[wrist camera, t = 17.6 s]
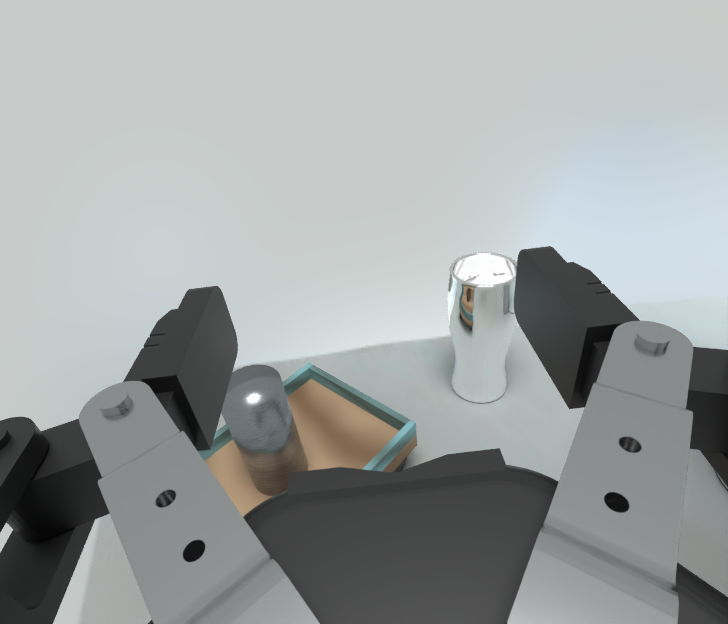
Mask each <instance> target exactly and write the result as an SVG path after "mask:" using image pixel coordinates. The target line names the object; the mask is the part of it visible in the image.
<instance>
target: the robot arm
mask: <svg viewBox="0 0 728 624" xmlns="http://www.w3.org/2000/svg"><path fill="white" fill-rule="evenodd" d="M514 312H515V316H516V319H517V322H518V324H519V325H520V327H521V329H522V330H523V332H524V334H525V335H526V337H527V339H528V340H529V342H530V344H531V345H532V347H533V349H534V350H535V352H536V354H537V356H538V357H539V359H540V361H541V362H542V364H543V366H544V367H545V369H546V371H547V372H548V374H549V376H550V377H551V379H552V381H553V382H554V384H555V386H556V387H557V389H558V391H559V392H560V394H561V396H562V398H563V399H564V401H565V403H566V404H567V406H568V408H569V409H573V408H582V407H585V409H584V412H583V414H582V417H581V420H580V423H579V426H578V429H577V432H576V434H575V437H574V440H573V443H572V446H571V449H570V451H569V454H568V457H567V460H566V463H565V466H564V468H563V471H562V474H561V477H560V480H559V482H558V481H556V480H554V479H552V478H550V477H548V476H545V475H543V474H541V473H538V472H535V471H532V470H529V469H525V468H521V467H516V466H511V465H506V464H505V462H504V459H503V456H502V454H501V451H500V448H499V449H490V450H481V451H473V452H464V453H456V454H447V455H445V456H442V457H439V458H436V459H433V460H431V461H428V462H425V463H422V464H420V465H417V466H414V467H411V468H408V469H406V470H403V471H400V472H394V473H393V472H382V471H373V470H364V469H355V468H346V467H335V468H327V469H318V470H310V471H301V472H292V473H289V480H288V490H286V491H284V492H281V493H279V494H277V495H275V496H273V497H271V498H269V499H267V500H265V501H264V502H262V503H260V504H259V505H257V506H256V507H254V508H253V509H252V510H250V511H249V512H248V513H247V514H245V515H244V516H242V515H241V514H240V512H239V511H238V509H237V508H236V506H235V505H234V503H233V502H232V501H231V499H230V498H229V496H228V495H227V493H226V492H225V490H224V489H223V487H222V486H221V485H220V483H219V482H218V480H217V479H216V477H215V476H214V474H213V473H212V471H211V470H210V469H209V467H208V466H207V464H206V463H205V461H204V460H203V458H202V457H201V455H200V454H199V453H198V451H203V450H211V447H212V443H213V439H214V436H215V432H216V429H217V425H218V421H219V418H220V414H221V411H222V407H223V403H224V400H225V396H226V393H227V389H228V385H229V382H230V378H231V375H232V371H233V367H234V364H235V360H236V357H237V351H238V347H237V346H238V344H237V336H236V332H235V329H234V326H233V323H232V321H231V317H230V314H229V311H228V308H227V305H226V302H225V300H224V296H223V293H222V291H221V289H220V288H219V287H218V286H212V287H204V288H196V289H189V290H188V291H187V292H186V294H185V296H184V298H183V300H182V302H181V304H180V306H179V308H178V309H174V310H170V311H169V312H168V313H167V314H166V315H165V316H163V317H162V318H161V319H160V320H159V321H158V322H157V323H156V325H155V327H154V328H153V330H152V332H151V334H150V338H148V339H147V341H146V343H145V344H144V348H143V349H142V350H141V351H140V353H139V355H138V357H137V358H136V360H135V362H134V364H133V366H132V368H131V369H130V371H129V373H128V374H127V376H126V378H125V380H124V381H123V382H122V383H118V384H116V385H113V386H110V387H108V388H106V389H104V390H102V391H101V392H99V393H98V394H97V395H95V396H94V397H92V398H91V399H90V400H89V401H88V402H87V403H86V404H85V406H84V407H83V409H82V410H81V412H80V415H79V419H77V420H74V421H71V422H68V423H65V424H62V425H59V426H56V427H53V428H50V429H47V430H44V431H40V430H39V429H38V427H37V426H36V425H35V423H34V422H33V421H32V420H31V419H29V418H26V417H13V418H8V419H5V420H2V421H0V532H1V530H2V529H3V527H4V525H5V523H6V522H7V523H8V524H9V525H10V526H11V527H12V528H13V531H12V533H11V535H10V537H9V538H8V540H7V542H6V544H5V545H4V547H3V549H2V551H1V553H0V624H53V621H54V619H55V617H56V614H57V612H58V609H59V607H60V604H61V602H62V599H63V597H64V594H65V592H66V590H67V587H68V585H69V582H70V580H71V577H72V575H73V572H74V570H75V567H76V565H77V562H78V560H79V558H80V555H81V552H82V550H83V548H84V545H85V543H86V540H87V538H88V535H89V533H90V531H91V528H92V526H93V523H94V520H95V519H97V518H99V517H102V516H104V515H107V514H109V513H110V515H111V518H112V520H113V523H114V525H115V528H116V530H117V533H118V535H119V538H120V540H121V543H122V545H123V548H124V550H125V553H126V555H127V558H128V560H129V563H130V565H131V568H132V570H133V573H134V575H135V578H136V580H137V583H138V585H139V588H140V590H141V593H142V596H143V598H144V601H145V603H146V606H147V608H148V611H149V613H150V616H151V618H152V620H151V621H150V622H149V623H148V624H728V597H727V596H725V595H724V594H722V593H721V592H719V591H718V590H716V589H715V588H714V587H712V586H711V585H709V584H708V583H706V582H705V581H703V580H702V579H701V578H699V577H698V576H696V575H695V574H693V573H692V572H690V571H689V570H688V569H686V568H685V567H683V566H682V565H680V564H679V563H677V560H678V550H679V541H680V532H681V523H682V514H683V505H684V495H685V486H686V477H687V468H688V459H689V450H690V449H697V450H700V451H701V452H702V454H703V455H704V456H705V458H706V459H707V460H708V462H709V463H710V464H711V466H712V467H713V468H714V469H715V471H716V473H717V475H718V477H719V478H720V480H721V481H722V483H723V484H724V485H725V487H726V488H727V489H728V350H722V349H710V348H699V347H693V346H692V343H691V342H690V340H689V339H688V338H687V337H686V336H685V335H683V334H682V333H681V332H679V331H677V330H675V329H673V328H671V327H669V326H666V325H663V324H659V323H655V322H649V321H640V320H639V319H638V318H637V317H636V316H635V315H634V314H633V313H632V312H631V311H630V310H629V309H628V308H627V307H626V306H625V305H624V304H623V303H622V302H621V301H620V300H619V299H618V298H617V297H616V296H615V295H614V294H613V293H611V292H610V290H609V289H608V288H607V287H606V286H605V285H604V284H602V283H601V281H600V280H599V279H598V278H597V277H596V276H595V275H594V274H593V273H592V272H591V271H590V270H588V269H586V268H584V267H582V266H580V265H578V264H576V263H574V262H570V263H567V262H566V261H565V260H564V259H563V258H562V257H561V256H560V255H559V254H558V253H557V251H556V250H555V249H554V248H553V247H551V246H549V247H540V248H533V249H524V250H521V251H520V253H519V255H518V261H517V271H516V281H515V291H514Z"/></svg>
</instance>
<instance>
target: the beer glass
mask: <svg viewBox="0 0 728 624" xmlns="http://www.w3.org/2000/svg"><path fill="white" fill-rule="evenodd" d="M516 271H517V262H516V261H515V260H513V259H512V258H509V257H507V256H504V255H501V254H496V253H473V254H468V255H465V256H462V257H460V258H458V259H456V260H455V261H454V262H453V263H452V264H451V266H450V276H449V286H448V301H447V305H448V306H447V307H448V320H449V328H450V332H451V337H452V342H453V346H454V352H455V366H454V370H453V374H452V378H451V384H452V387H453V389H454V391H455V392H456V393H457V394H458V395H459V396H460V397H462V398H464V399H466V400H468V401H471V402H476V403H487V402H491V401H494V400H497V399H498V398H500V397H501V396H502V395H503V394H504V392H505V390H506V387H507V381H506V374H505V360H506V356H507V352H508V349H509V347H510V344H511V341H512V338H513V335H514V332H515V328H516V324H517V319H516V316H515V312H514V291H515V281H516Z"/></svg>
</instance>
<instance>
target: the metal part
mask: <svg viewBox="0 0 728 624" xmlns="http://www.w3.org/2000/svg"><path fill="white" fill-rule="evenodd" d="M221 413H222V415H223V417H224V419H225V422H226V424H227V426H228V428H229V430H230V433H231V435H232V437H233V439H234V442H235V444H236V446H237V448H238V450H239V453H240V455H241V457H242V459H243V461H244V464H245V466H246V468H247V470H248V472H249V475H250V477H251V479H252V481H253V483H254V485H255V487H256V489H257V490H258V491H259V492H261V493H263V494H265V495H268V496H275V495H277V494H279V493H281V492H284V491H286V490H288V480H289V473H292V472H301V471H307V470H308V461H307V458H306V455H305V452H304V449H303V445H302V442H301V439H300V436H299V433H298V430H297V427H296V424H295V421H294V418H293V414H292V411H291V408H290V405H289V402H288V399H287V396H286V393H285V390H284V387H283V383H282V380H281V377H280V375H279V373H278V372H277V370H275V369H274V368H272V367H270V366H266V365H251V366H247V367H244V368H241V369H239V370H236V371H235V372H233V373H232V375H231V378H230V382H229V385H228V389H227V393H226V396H225V400H224V403H223V407H222V411H221Z"/></svg>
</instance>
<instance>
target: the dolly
mask: <svg viewBox="0 0 728 624" xmlns="http://www.w3.org/2000/svg"><path fill="white" fill-rule="evenodd" d="M282 383H283V387H284V390H285V393H286V396H287V399H288V402H289V405H290V408H291V411H292V414H293V418H294V421H295V424H296V427H297V430H298V433H299V436H300V439H301V442H302V445H303V449H304V452H305V455H306V458H307V461H308V470H307V471H310V470H318V469H327V468H335V467H346V468H355V469H364V470H373V471H382V472H393V473H394V472H400V471H401V470H402V468H403V466H404V464H405V461H406V457H407V456H408V455H409V453H410V452H411V451H412V450H413V449H414V448H415V447H416V446H417V436H416V423H415V422H413V421H411V420H410V419H408V418H406V417H404V416H403V415H401V414H399V413H397V412H395V411H394V410H392V409H390V408H388V407H387V406H385V405H383V404H381V403H380V402H378V401H376V400H374V399H372V398H371V397H369V396H367V395H365V394H364V393H362V392H360V391H358V390H356V389H355V388H353V387H351V386H349V385H348V384H346V383H344V382H342V381H340V380H339V379H337V378H335V377H333V376H332V375H330V374H328V373H326V372H325V371H323V370H321V369H319V368H317V367H316V366H314V365H312V364H310V363H308V364H307V365H305V366H304V367H303V368H301V369H300V370H299V371H297V372H296V373H295V374H293V375H292V376H291V377H289V378H288V379H287V380H285V381H284V382H282ZM198 453H199V454H200V455H201V457H202V458H203V460H204V461H205V463H206V464H207V466H208V467H209V469H210V470H211V471H212V473H213V474H214V476H215V477H216V479H217V480H218V482H219V483H220V485H221V486H222V487H223V489H224V490H225V492H226V493H227V495H228V496H229V498H230V499H231V501H232V502H233V503H234V505H235V506H236V508H237V509H238V511H239V512H240V514H241V515H242V516H244V515H245V514H247V513H248V512H249V511H250V510H252V509H253V508H254V507H256V506H257V505H259V504H260V503H262V502H264V501H265V500H267V499H269V498H271V497H273V496H268V495H265V494H263V493H261V492H259V491H258V490H257V489H256V487H255V485H254V483H253V481H252V479H251V477H250V475H249V472H248V470H247V468H246V466H245V464H244V461H243V459H242V457H241V455H240V453H239V450H238V448H237V446H236V444H235V442H234V439H233V437H232V435H231V433H230V430H229V428H228V426H227V424H226V425H225V426H223V427H222V428H221V429H219V430H218V431H217V432H215V436H214V439H213V443H212V447H211V450H203V451H198Z"/></svg>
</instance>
